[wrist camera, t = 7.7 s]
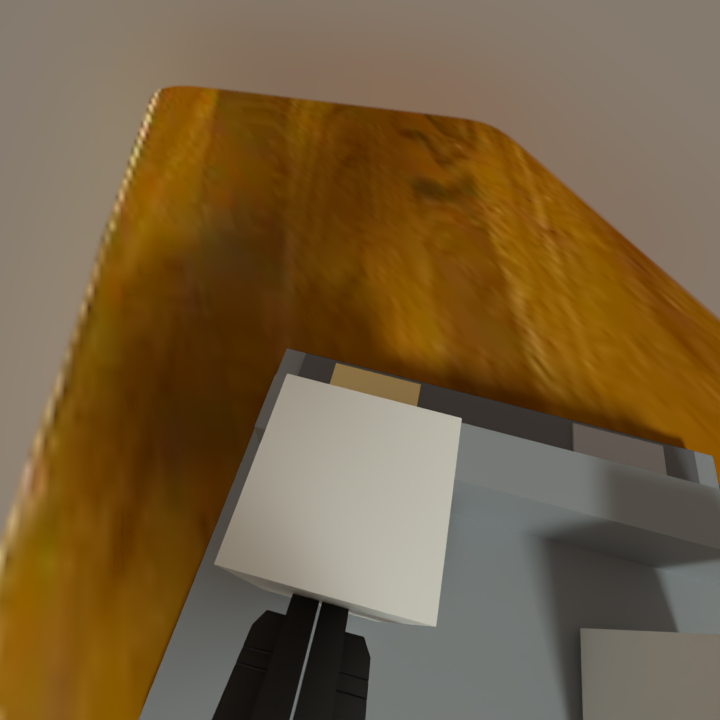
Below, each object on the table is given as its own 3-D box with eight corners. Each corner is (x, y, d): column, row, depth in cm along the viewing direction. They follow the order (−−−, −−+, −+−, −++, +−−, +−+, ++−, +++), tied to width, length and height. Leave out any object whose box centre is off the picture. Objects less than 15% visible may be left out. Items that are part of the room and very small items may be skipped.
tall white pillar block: (376, 621, 14) (436, 627, 7) (264, 589, 15) (213, 564, 8) (398, 504, 17) (461, 418, 9) (299, 477, 17) (287, 373, 10)
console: (779, 950, 13) (1034, 1135, 8) (135, 753, 13) (46, 821, 9) (692, 464, 20) (798, 421, 16) (287, 361, 21) (280, 293, 17)
